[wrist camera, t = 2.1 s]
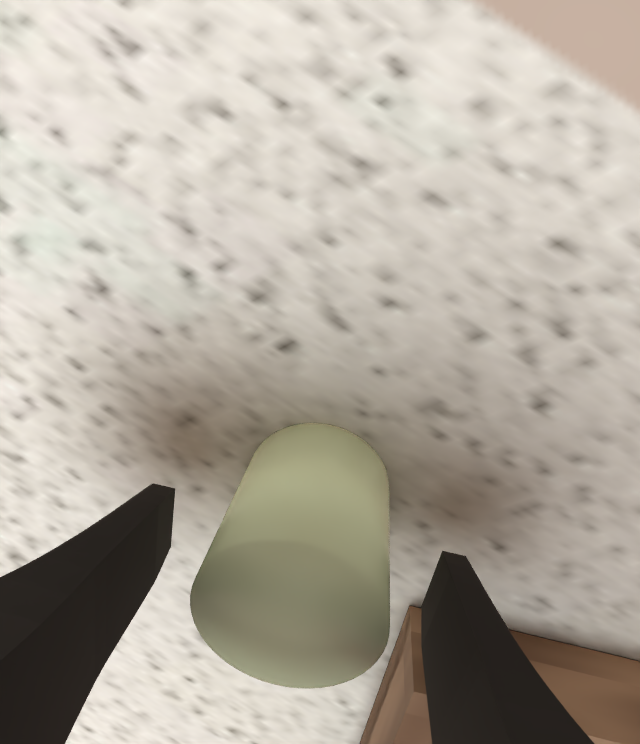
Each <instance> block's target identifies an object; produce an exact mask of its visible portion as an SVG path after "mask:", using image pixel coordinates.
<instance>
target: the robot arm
mask: <svg viewBox="0 0 640 744" xmlns="http://www.w3.org/2000/svg"><path fill="white" fill-rule="evenodd" d="M174 496H175V488H171V487H166V486H162V485H158V484H151V485H150V486H148V487H147V488H145V489H144V490H142V491H141V492H140V493H138V494H137V495H135V496H134V497H132V498H131V499H130V500H128V501H127V502H125V503H124V504H123V505H121V506H120V507H118V508H117V509H115V510H114V511H113V512H111V513H110V514H108V515H107V516H105V517H104V518H102V519H101V520H99V521H98V522H96V523H95V524H93V525H92V526H90V527H89V528H87V529H86V530H84V531H83V532H81V533H79V534H78V535H76V536H75V537H73V538H71V539H70V540H68V541H66V542H65V543H63V544H61V545H60V546H58V547H56V548H55V549H53V550H51V551H50V552H48V553H46V554H44V555H43V556H41V557H39V558H37V559H35V560H33V561H32V562H30V563H28V564H26V565H24V566H22V567H20V568H18V569H16V570H14V571H12V572H10V573H8V574H6V575H4V576H2V577H0V744H65V742H66V740H67V738H68V736H69V734H70V732H71V730H72V727H73V725H74V723H75V721H76V719H77V717H78V715H79V713H80V711H81V709H82V707H83V705H84V703H85V701H86V699H87V697H88V695H89V693H90V691H91V689H92V687H93V685H94V683H95V681H96V679H97V677H98V676H99V674H100V672H101V670H102V668H103V667H104V665H105V663H106V661H107V660H108V658H109V656H110V655H111V653H112V652H113V650H114V648H115V647H116V645H117V643H118V642H119V640H120V638H121V637H122V635H123V634H124V632H125V630H126V629H127V627H128V625H129V624H130V622H131V620H132V619H133V617H134V616H135V614H136V612H137V611H138V609H139V607H140V606H141V604H142V602H143V601H144V599H145V597H146V596H147V594H148V592H149V591H150V589H151V587H152V586H153V584H154V582H155V580H156V578H157V576H158V574H159V572H160V569H161V567H162V565H163V563H164V561H165V558H166V556H167V554H168V552H169V550H170V547H171V536H172V523H173V509H174ZM421 649H422V659H423V668H424V677H425V686H426V694H427V703H428V712H429V720H430V729H431V738H432V744H595V743H594V742H593V741H592V740H591V739H590V738H589V737H588V735H587V734H586V733H585V732H584V731H583V730H582V729H581V727H580V726H579V725H578V724H577V723H576V721H575V720H574V719H573V718H572V717H571V715H570V714H569V713H568V712H567V710H566V709H565V708H564V706H563V705H562V704H561V703H560V701H559V700H558V699H557V698H556V696H555V695H554V694H553V692H552V691H551V690H550V689H549V687H548V686H547V685H546V683H545V682H544V681H543V679H542V678H541V677H540V675H539V674H538V672H537V671H536V670H535V668H534V667H533V665H532V664H531V662H530V661H529V659H528V658H527V657H526V655H525V654H524V652H523V651H522V649H521V648H520V646H519V645H518V643H517V642H516V640H515V639H514V637H513V635H512V634H511V632H510V631H509V629H508V627H507V626H506V624H505V622H504V621H503V619H502V618H501V616H500V614H499V613H498V611H497V609H496V608H495V606H494V604H493V603H492V601H491V599H490V598H489V596H488V594H487V592H486V591H485V589H484V587H483V585H482V584H481V582H480V580H479V578H478V577H477V575H476V573H475V571H474V570H473V568H472V566H471V564H470V563H469V561H468V559H467V558H466V556H462V555H458V554H454V553H449V552H445V551H442V553H441V556H440V559H439V561H438V564H437V567H436V569H435V572H434V575H433V577H432V580H431V583H430V585H429V588H428V591H427V593H426V596H425V599H424V601H423V604H422V607H421Z"/></svg>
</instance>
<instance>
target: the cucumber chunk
mask: <svg viewBox="0 0 640 744" xmlns="http://www.w3.org/2000/svg"><path fill="white" fill-rule="evenodd" d="M190 606H191V613H192V617H193V620H194V623H195V625H196V627H197V629H198V631H199V633H200V635H201V636H202V638H203V639H204V641H205V642H206V643H207V644H208V645H209V647H210V648H211V649H212V650H213V651H214V652H215V653H216V654H217V655H218V656H219V657H220V658H222V659H223V660H224V661H226V662H227V663H228V664H230V665H231V666H233V667H234V668H236V669H238V670H239V671H241V672H243V673H245V674H247V675H249V676H251V677H254V678H256V679H259V680H261V681H265V682H268V683H271V684H275V685H280V686H285V687H293V688H322V687H328V686H334V685H337V684H341V683H344V682H347V681H349V680H352V679H354V678H356V677H358V676H359V675H361V674H363V673H364V672H365V671H367V670H368V669H369V668H371V667H372V666H373V665H374V664H375V663H376V662H377V660H378V659H379V658H380V656H381V655H382V653H383V651H384V649H385V647H386V645H387V642H388V637H389V629H390V564H389V480H388V475H387V472H386V469H385V467H384V464H383V462H382V461H381V459H380V457H379V456H378V454H377V453H376V452H375V451H374V449H373V448H372V447H371V446H370V445H368V444H367V443H366V442H365V441H364V440H362V439H361V438H360V437H358V436H357V435H355V434H353V433H351V432H350V431H347V430H345V429H342V428H340V427H336V426H333V425H328V424H322V423H302V424H297V425H292V426H289V427H286V428H283V429H281V430H279V431H277V432H275V433H274V434H272V435H271V436H269V437H268V438H267V439H266V440H264V441H263V442H262V444H261V445H260V446H259V447H258V448H257V450H256V452H255V453H254V455H253V457H252V459H251V461H250V463H249V466H248V468H247V470H246V472H245V474H244V476H243V478H242V480H241V482H240V485H239V487H238V489H237V491H236V493H235V495H234V497H233V499H232V501H231V504H230V506H229V508H228V510H227V512H226V514H225V516H224V518H223V521H222V523H221V525H220V527H219V529H218V531H217V533H216V535H215V537H214V540H213V542H212V544H211V546H210V548H209V550H208V552H207V554H206V557H205V559H204V561H203V563H202V565H201V567H200V569H199V571H198V573H197V576H196V578H195V580H194V583H193V585H192V590H191V595H190Z"/></svg>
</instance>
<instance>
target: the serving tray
mask: <svg viewBox="0 0 640 744" xmlns="http://www.w3.org/2000/svg"><path fill="white" fill-rule="evenodd" d="M509 631H510V632H511V634H512V635H513V637H514V639H515V640H516V642H517V643H518V645H519V646H520V648H521V649H522V651H523V652H524V654H525V655H526V657H527V658H528V659H529V661H530V662H531V664H532V665H533V667H534V668H535V670H536V671H537V672H538V674H539V675H540V677H541V678H542V679H543V681H544V682H545V683H546V685H547V686H548V687H549V689H550V690H551V691H552V692H553V694H554V695H555V696H556V698H557V699H558V700H559V701H560V703H561V704H562V705H563V706H564V708H565V709H566V710H567V712H568V713H569V714H570V715H571V717H572V718H573V719H574V720H575V721H576V723H577V724H578V725H579V726H580V727H581V729H582V730H583V731H584V732H585V733H586V734H587V735H588V737H589V738H590V739H591V740H592V741H593V742H594V743H595V744H640V662H639V661H635V660H631V659H627V658H623V657H619V656H615V655H611V654H606V653H602V652H598V651H594V650H590V649H586V648H582V647H578V646H573V645H569V644H565V643H561V642H557V641H553V640H549V639H545V638H540V637H536V636H532V635H528V634H524V633H520V632H516V631H512V630H509ZM360 744H432V738H431V729H430V720H429V712H428V703H427V694H426V686H425V677H424V668H423V659H422V649H421V608H417V607H413V606H409V609H408V611H407V614H406V617H405V620H404V623H403V625H402V628H401V631H400V634H399V636H398V639H397V642H396V645H395V647H394V650H393V653H392V656H391V658H390V661H389V664H388V667H387V670H386V672H385V675H384V678H383V681H382V683H381V686H380V689H379V692H378V694H377V697H376V700H375V703H374V706H373V708H372V711H371V714H370V717H369V719H368V722H367V725H366V728H365V730H364V733H363V736H362V739H361V741H360Z"/></svg>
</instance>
